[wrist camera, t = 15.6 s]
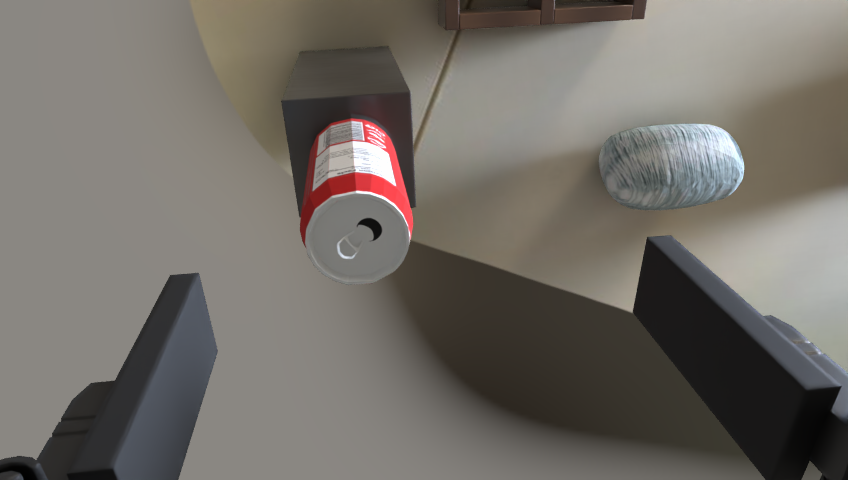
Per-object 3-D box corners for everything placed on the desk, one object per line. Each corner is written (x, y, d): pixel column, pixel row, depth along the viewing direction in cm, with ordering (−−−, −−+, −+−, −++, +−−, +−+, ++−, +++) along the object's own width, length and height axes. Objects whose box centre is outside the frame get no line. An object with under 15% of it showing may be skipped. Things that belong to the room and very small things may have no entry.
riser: (311, 138, 54) (299, 218, 38) (299, 51, 50) (281, 100, 34) (393, 131, 55) (416, 207, 39) (388, 46, 51) (410, 91, 35)
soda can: (347, 211, 38) (350, 313, 28) (291, 151, 36) (271, 237, 25) (411, 163, 37) (439, 249, 27) (359, 98, 35) (367, 165, 24)
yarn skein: (753, 103, 55) (775, 179, 49) (709, 170, 62) (724, 242, 57) (612, 86, 55) (618, 159, 50) (586, 154, 63) (588, 223, 57)
